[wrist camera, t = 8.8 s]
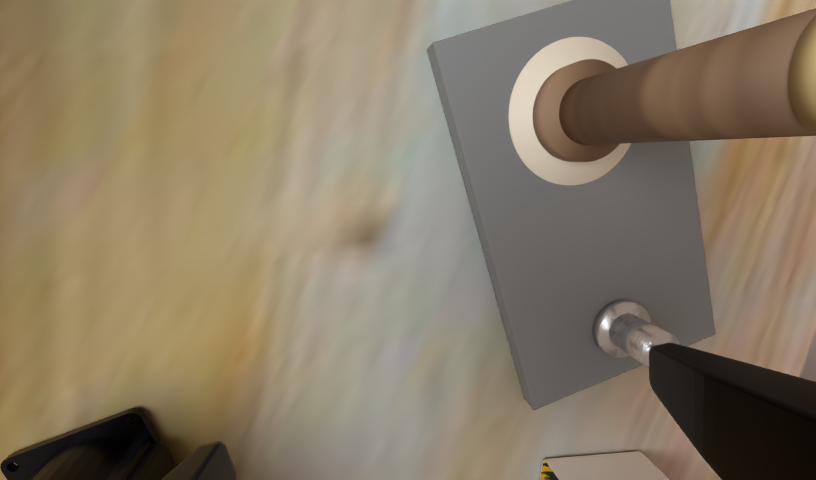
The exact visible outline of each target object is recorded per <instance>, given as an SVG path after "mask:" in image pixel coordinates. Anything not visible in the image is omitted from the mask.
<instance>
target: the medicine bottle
mask: <svg viewBox="0 0 816 480" xmlns="http://www.w3.org/2000/svg"><path fill="white" fill-rule="evenodd" d="M539 480H670V479H669V478H668V477H667V476H666V475H665V474H664V473H662V472H661V471H660V470H659V469H658V468H657V467H656V466H655V465H654V464H653V463H652V462H651V461H650V460H649V459H648V458H647V457H646V456H645V455H644V454H643V453H641V452H639V451H635V452H622V453H610V454H598V455H586V456H574V457H562V458H550V459H544V460H543V461H542V464H541V470H540V478H539Z"/></svg>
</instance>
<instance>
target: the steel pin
mask: <svg viewBox="0 0 816 480" xmlns="http://www.w3.org/2000/svg"><path fill="white" fill-rule="evenodd" d="M592 334H593V339H594V341H595V343H596V345H597V346H598V347H599V348H600V349H602V350H603V351H605V352H606V353H607V354H609V355H611V356H613V357H627V356H631V357H633V358H634V359H636V360H637V361H639V362H641V363H642V364H644V365H645V366H647V367H648V368H649V350H650V348H651V347H652V346H655V345H659V344H664V343H675V344H679V341H678V339H677V338H676V337H675V336H674V335H673V334H671V333H669V332H667V331H665V330H663V329H661V328H659V327H657V326H655V325H653V324H651V319H650V316H649V314H648V312H647V311H646V309H645V308H644V307H642V306H641V305H639V304H637V303H635V302H633V301H630V300H627V299H619V300H615V301H612V302H610V303H608V304H607V305H605V306H604V307H603V308H602V309H601V310H600V311H599V312H598V314H597V316H596V318H595V320H594V322H593V327H592ZM679 345H680V344H679Z"/></svg>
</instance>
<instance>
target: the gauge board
mask: <svg viewBox="0 0 816 480" xmlns="http://www.w3.org/2000/svg"><path fill="white" fill-rule="evenodd" d="M673 51H677V50H676V42H675V35H674V28H673V20H672V13H671V6H670V0H572V1H569V2H566V3H562V4H559V5H556V6H552V7H549V8H546V9H542V10H539V11H536V12H533V13H529V14H526V15H523V16H519V17H516V18H513V19H510V20H506V21H503V22H500V23H496V24H493V25H490V26H486V27H483V28H480V29H477V30H473V31H470V32H467V33H463V34H460V35H457V36H453V37H450V38H447V39H444V40H440V41H437V42H434V43H432V44H431V45H430V46H429V47H428V49H427V52H428V56H429V59H430V63H431V67H432V70H433V74H434V77H435V81H436V84H437V88H438V92H439V95H440V99H441V102H442V106H443V110H444V113H445V117H446V120H447V124H448V127H449V131H450V135H451V138H452V142H453V145H454V149H455V152H456V156H457V160H458V163H459V167H460V170H461V174H462V177H463V181H464V185H465V188H466V192H467V195H468V199H469V202H470V206H471V210H472V213H473V217H474V220H475V224H476V228H477V231H478V235H479V238H480V242H481V245H482V249H483V253H484V256H485V260H486V263H487V267H488V270H489V274H490V278H491V281H492V285H493V288H494V292H495V295H496V299H497V303H498V306H499V310H500V313H501V317H502V320H503V324H504V328H505V331H506V335H507V338H508V342H509V346H510V349H511V353H512V356H513V360H514V363H515V367H516V371H517V374H518V378H519V381H520V385H521V388H522V392H523V396H524V399H525V400H526V401H527V402H528V404H529V405H530V406H531V407H532V409H533V410H536V409H538V408H540V407H543V406H545V405H548V404H550V403H552V402H555V401H557V400H559V399H562V398H564V397H567V396H569V395H571V394H574V393H576V392H579V391H581V390H583V389H586V388H588V387H590V386H593V385H595V384H598V383H600V382H602V381H605V380H607V379H610V378H612V377H614V376H617V375H619V374H621V373H624V372H626V371H629V370H631V369H633V368H636V367H638V366H640V365H643V364H642V363H641V362H639V361H637V360H636V359H634V358H633V357H631V356H627V357H613V356H611V355H609V354H607V353H606V352H605V351H603V350H602V349H600V348H599V347H598V346H597V345H596V343H595V341H594V339H593V334H592V327H593V322H594V320H595V318H596V316H597V314H598V312H599V311H600V310H601V309H602V308H603V307H604V306H605V305H607V304H608V303H610V302H612V301H615V300H619V299H627V300H630V301H633V302H635V303H637V304H639V305H641V306H642V307H644V308H645V309H646V311H647V312H648V314H649V316H650V319H651V324H653V325H655V326H657V327H659V328H661V329H663V330H665V331H667V332H669V333H671V334H673V335H674V336H675V337H676V338H677V339H678V341H679V344H680V345H682V346H688V345H691V344H693V343H695V342H698V341H700V340H702V339H705V338H707V337H710V336H712V335H714V334H715V328H714V321H713V313H712V306H711V299H710V291H709V284H708V277H707V269H706V262H705V255H704V247H703V240H702V233H701V225H700V218H699V211H698V203H697V196H696V189H695V181H694V174H693V167H692V159H691V152H690V145H689V141H671V142H646V143H622V144H619V145H618V147H617V148H616V149H615V150H614V151H612V152H611V153H610V154H608V155H607V156H605V157H603V158H601V159H599V160H595V161H591V162H568V161H563V160H560V159H557V158H555V157H553V156H552V155H550V154H549V153H548V152H547V151H546V150H545V149H544V148H543V147H542V145H541V144H540V142H539V141H538V139H537V136H536V134H535V131H534V126H533V106H534V102H535V98H536V95H537V93H538V91H539V89H540V87H541V86H542V84H543V83H544V82H545V80H546V79H547V78H548V77H549V76H550V75H551V74H552V73H554V72H555V71H557V70H558V69H560V68H562V67H565V66H567V65H570V64H572V63H575V62H578V61H581V60H586V59H597V60H602V61H605V62H607V63H609V64H611V65H613V66H614V67H615V68H621V67H624V66H627V65H630V64H634V63H637V62H640V61H644V60H647V59H650V58H654V57H657V56H660V55H663V54H667V53H670V52H673Z"/></svg>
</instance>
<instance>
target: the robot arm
mask: <svg viewBox="0 0 816 480" xmlns="http://www.w3.org/2000/svg"><path fill="white" fill-rule="evenodd" d="M649 379H650V384H651V387H652V389H653V391H654V392H655V394H656V395H657V397H658V398H659V399H660V401H661V402H662V403H663V405H664V406H665V408H666V409H667V410H668V412H669V413H670V414H671V416H672V417H673V418H674V420H675V421H676V422H677V424H678V425H679V427H680V428H681V429H682V431H683V432H684V433H685V435H686V436H687V437H688V439H689V440H690V441H691V443H692V444H693V446H694V447H695V448H696V449H697V451H698V452H699V453H700V455H701V456H702V457H703V458H704V459H705V461H706V462H707V463H708V464H709V465H710V466H711V468H712V469H713V470H714V471H715V472H716V473H717V474H718V476H719V477H720V478H721V479H722V480H816V382H814V381H810V380H806V379H803V378H799V377H796V376H792V375H788V374H785V373H781V372H777V371H774V370H770V369H766V368H763V367H759V366H755V365H752V364H748V363H744V362H741V361H737V360H734V359H730V358H726V357H723V356H719V355H715V354H712V353H708V352H704V351H701V350H697V349H693V348H690V347H686V346H682V345H679V344H675V343H664V344H659V345H655V346H652V347H651V348H650V350H649ZM131 417H132V418H135V419H136V420H137V422H133V421H131V420H130V418H131ZM13 462H14V463H17V464H18V465H19V466H17V465H15V464H14V463H13ZM0 468H1V471H2V472H3V474H4V475H5V477H6V478H7V480H237V478H236V472H235V469H234V467H233V464H232V461H231V458H230V456H229V453H228V450H227V447H226V446H225V444H224V443H223V442H221V441H218V442H213V443H209V444H204V445H201V446H200V447H198V448H197V449H196V450H195V451H194V452H193V453H192V454H190V455H189V456H188V457H187V458H186V459H185V460H184V461H182V462H181V463H180V464H179V465H178V466H177V465H176V463H175V461H174V459H173V458H172V456H171V454H170V452H169V450H168V449H167V447H166V445H165V444H164V443H163V442H161V440H160V438H159V437H158V435H157V433H156V431H155V429H154V428H153V426H152V424H151V422H150V421H149V419H148V417H147V415H146V413H145V412H144V411H143V410H141V409H139V408H132V409H129V410H126V411H123V412H121V413H118V414H115V415H113V416H110V417H107V418H105V419H102V420H99V421H97V422H94V423H91V424H89V425H86V426H83V427H81V428H78V429H75V430H73V431H70V432H67V433H65V434H62V435H59V436H57V437H54V438H51V439H49V440H46V441H43V442H41V443H38V444H35V445H33V446H30V447H27V448H25V449H22V450H19V451H17V452H14V453H12V454H11V455H9V456H8V457H7V458H6V459H5V460H4V461H3V462H2V463H1V467H0Z"/></svg>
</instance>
